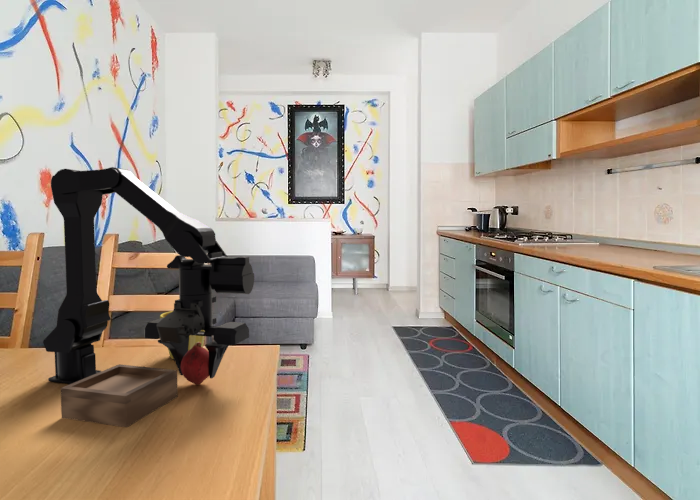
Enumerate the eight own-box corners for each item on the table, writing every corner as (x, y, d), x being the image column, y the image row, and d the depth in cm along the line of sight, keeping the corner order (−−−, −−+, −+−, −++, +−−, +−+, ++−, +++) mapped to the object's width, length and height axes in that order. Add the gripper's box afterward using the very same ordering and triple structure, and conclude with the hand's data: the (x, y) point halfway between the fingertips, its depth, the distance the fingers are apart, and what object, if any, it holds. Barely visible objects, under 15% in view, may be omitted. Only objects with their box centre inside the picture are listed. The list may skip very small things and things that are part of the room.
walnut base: (61, 417, 70) (60, 388, 70) (119, 389, 82) (118, 364, 81) (126, 427, 67) (125, 396, 67) (177, 396, 79) (176, 370, 78)
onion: (203, 391, 81) (203, 347, 80) (174, 389, 82) (173, 345, 82) (219, 380, 87) (218, 339, 86) (192, 378, 88) (191, 337, 87)
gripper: (120, 297, 78) (123, 386, 79) (217, 303, 73) (218, 397, 74) (163, 288, 89) (165, 366, 90) (250, 292, 84) (250, 375, 85)
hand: (197, 376), depth 84 cm, fingers closed on onion, 6 cm apart
